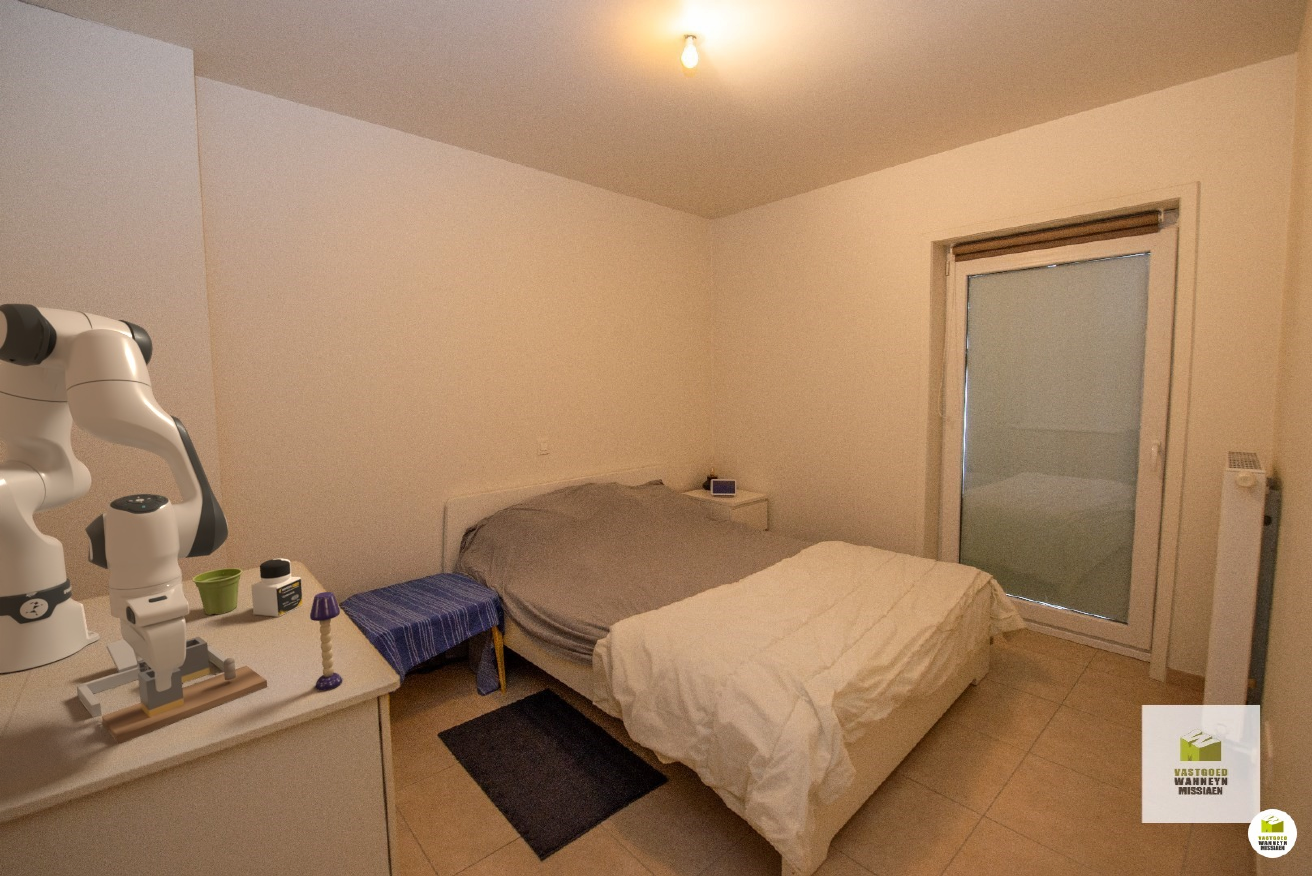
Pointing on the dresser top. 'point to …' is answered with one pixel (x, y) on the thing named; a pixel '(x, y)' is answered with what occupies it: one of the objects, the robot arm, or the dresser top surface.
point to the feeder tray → (124, 673)
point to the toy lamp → (326, 637)
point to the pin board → (186, 702)
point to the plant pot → (218, 589)
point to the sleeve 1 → (160, 693)
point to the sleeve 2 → (195, 660)
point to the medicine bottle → (276, 589)
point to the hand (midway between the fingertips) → (154, 679)
